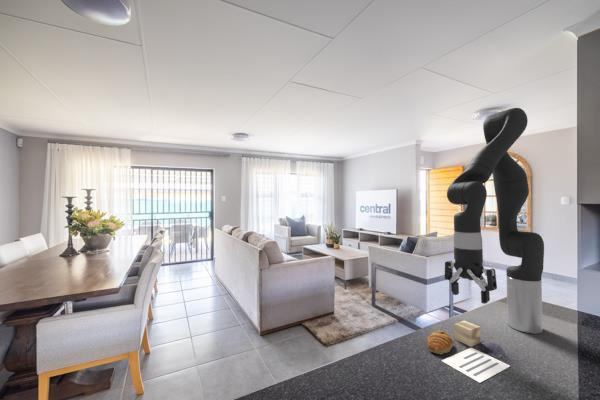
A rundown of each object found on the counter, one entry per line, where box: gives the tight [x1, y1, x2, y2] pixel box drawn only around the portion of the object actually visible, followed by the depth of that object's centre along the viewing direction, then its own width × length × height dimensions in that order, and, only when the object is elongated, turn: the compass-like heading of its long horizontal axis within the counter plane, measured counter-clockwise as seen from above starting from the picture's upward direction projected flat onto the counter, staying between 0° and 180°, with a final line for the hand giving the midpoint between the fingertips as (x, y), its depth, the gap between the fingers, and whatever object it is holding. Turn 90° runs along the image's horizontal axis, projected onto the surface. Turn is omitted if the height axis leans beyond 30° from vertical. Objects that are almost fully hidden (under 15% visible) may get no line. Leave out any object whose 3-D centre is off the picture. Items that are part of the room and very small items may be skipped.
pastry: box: [426, 330, 455, 355], centre depth 79 cm, size 9×7×4 cm
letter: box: [440, 346, 511, 384], centre depth 71 cm, size 14×10×1 cm
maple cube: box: [453, 320, 481, 348], centre depth 82 cm, size 5×5×5 cm
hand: (469, 298), depth 81 cm, fingers open, 8 cm apart
